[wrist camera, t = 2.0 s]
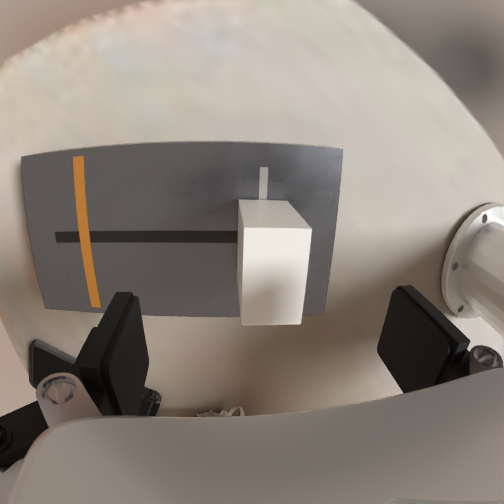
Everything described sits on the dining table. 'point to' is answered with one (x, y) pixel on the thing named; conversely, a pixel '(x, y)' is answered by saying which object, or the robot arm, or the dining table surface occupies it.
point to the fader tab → (271, 262)
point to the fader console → (169, 220)
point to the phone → (55, 361)
